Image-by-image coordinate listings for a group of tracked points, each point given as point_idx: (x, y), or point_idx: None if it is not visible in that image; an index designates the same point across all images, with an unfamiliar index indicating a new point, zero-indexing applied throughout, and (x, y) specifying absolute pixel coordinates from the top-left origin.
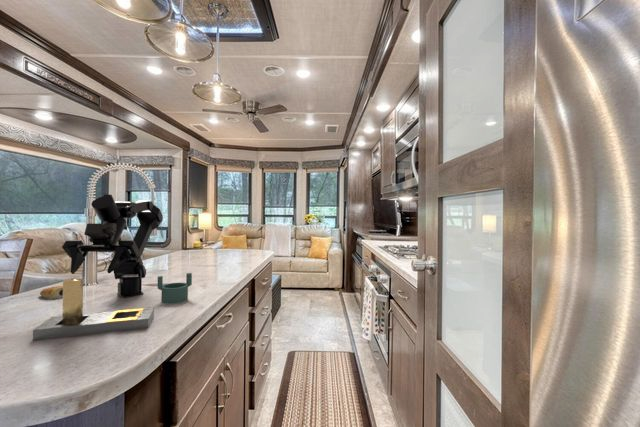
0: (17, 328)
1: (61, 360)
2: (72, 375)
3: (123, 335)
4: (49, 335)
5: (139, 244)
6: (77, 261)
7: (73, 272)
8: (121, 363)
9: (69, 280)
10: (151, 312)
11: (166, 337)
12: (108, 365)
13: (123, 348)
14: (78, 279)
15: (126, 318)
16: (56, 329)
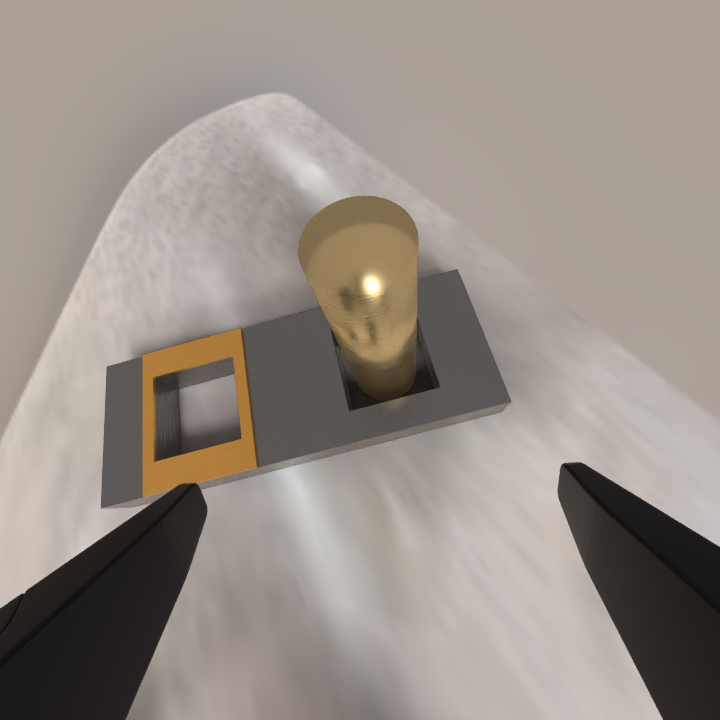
0: (633, 397)
1: (283, 194)
2: (226, 150)
3: (194, 322)
4: None
5: None
6: (706, 663)
7: (561, 487)
8: (152, 189)
9: (371, 227)
10: (104, 440)
11: (74, 307)
12: (175, 181)
13: (168, 247)
14: (327, 256)
15: (179, 361)
16: None
